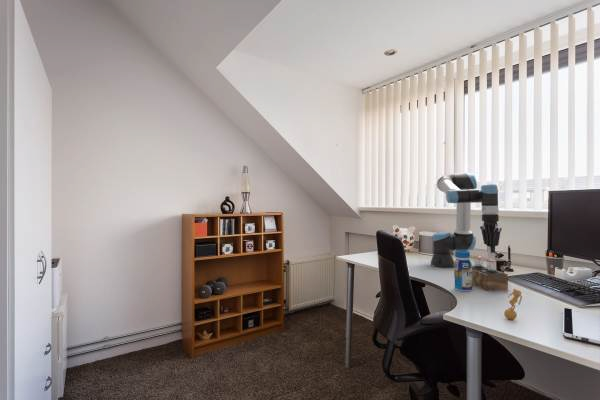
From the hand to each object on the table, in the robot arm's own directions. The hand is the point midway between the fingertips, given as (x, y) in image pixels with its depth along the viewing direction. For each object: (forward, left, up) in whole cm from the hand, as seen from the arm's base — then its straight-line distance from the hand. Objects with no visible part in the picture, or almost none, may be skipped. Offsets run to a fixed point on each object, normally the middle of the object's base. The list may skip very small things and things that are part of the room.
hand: (491, 258), depth 159 cm
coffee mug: (-22, +19, -16) cm, 33 cm away
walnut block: (-5, 0, -15) cm, 16 cm away
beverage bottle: (-1, -16, -16) cm, 22 cm away
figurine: (+39, -21, -16) cm, 47 cm away
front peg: (0, 0, -9) cm, 9 cm away
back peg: (-10, 0, -9) cm, 14 cm away
